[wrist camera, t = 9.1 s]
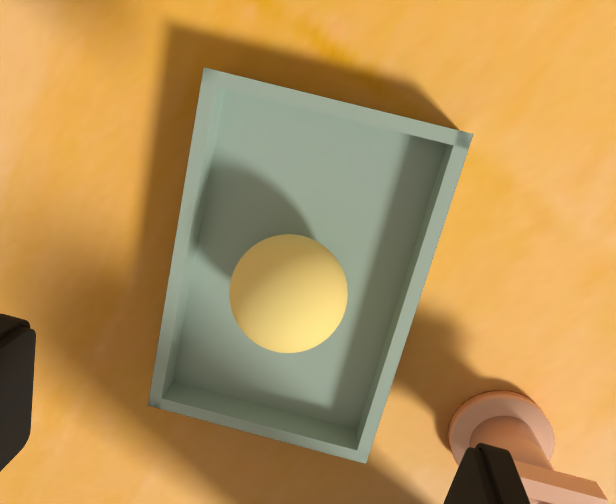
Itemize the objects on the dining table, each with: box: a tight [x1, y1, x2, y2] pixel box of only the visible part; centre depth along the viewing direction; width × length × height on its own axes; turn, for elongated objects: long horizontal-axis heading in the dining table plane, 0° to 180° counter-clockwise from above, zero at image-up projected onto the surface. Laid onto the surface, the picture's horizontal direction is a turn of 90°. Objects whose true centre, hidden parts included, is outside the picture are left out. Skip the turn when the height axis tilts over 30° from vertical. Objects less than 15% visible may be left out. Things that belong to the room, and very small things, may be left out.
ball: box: [229, 234, 348, 353], centre depth 21 cm, size 5×5×5 cm
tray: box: [148, 67, 473, 464], centre depth 23 cm, size 16×11×2 cm
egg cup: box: [448, 391, 608, 504], centre depth 23 cm, size 5×5×6 cm
